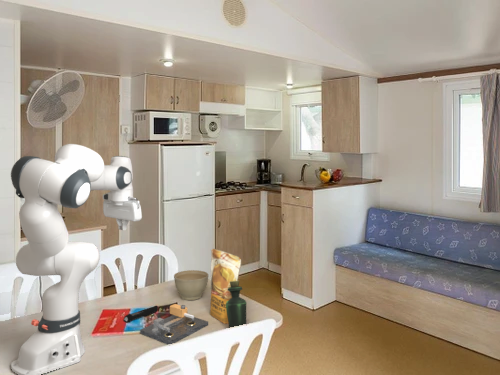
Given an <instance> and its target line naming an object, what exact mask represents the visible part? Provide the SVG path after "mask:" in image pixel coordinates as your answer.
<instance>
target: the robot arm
mask: <svg viewBox="0 0 500 375" xmlns="http://www.w3.org/2000/svg"><path fill="white" fill-rule="evenodd" d="M104 162H105V161H104V159H103V158H102V156H101V154H99V153H98V152H97V151H95V150H94V149H92V148H89V147H87V146H85V145H81V144H76V143H66V144H63V145H62V146H60V147H59V148H58V149H57V150H56V152H55V156H54V161H52V160H48V159H44V158H41V157H39V156H35V155H23V156H22V157H20V158H19V159H17V161H16V162H15V163H14V164H13V165H12V168H11V171H10V179H11V183H12V184H11V185H12V186H13V188H14V189H15V195H16V196H17V197H18V198H20V199H24V202H23V204H22V205H21V207H20V208H19V211H18V218H19V223H20V226H21V230H22V232H23V234H24V236H25V238H26V239H27V242H28V243H27V244H25V245H23V246H22V247H21V248H20V249H19V250H18V252H17V254H16V256H15V265H16V268H17V270H18V271H19V273H21V274H22V275H27V276H28V275H29V276H33V277H34V276H35V277H42V276H45V277H49V276H60V280H59V281H58V282H56V283H54V284H53V285H50V286H49V287H48V288H46V289H45V290H44V291H43V293H42V297H41V300H42V301H41V304H42V316H41V318H40V320H38V319H36V318H34V319H32V320H31V323H30V324H31V325H32V326H34V327H37V329H36V330H35V331H34V333H33V334H31V335H30V337H29V338H28V339H26V340H25V341H24V342H23V344H21V346H20V347H19V350H18V357H17V359H14V360H12V361H11V362H10V370H11V369H12V370H11V371H12V372H13V373H14V372H15V373H14V374H16V373H17V374H18V375H41V374H43V373H46V374H48V373H47V372H49V373H51V372H50V371H52V372H54V371H53V370H55V371H57V370H60V369H62V368H66V367H69V366H71V365H75V364H77V363H79V362H81V359H82V356H83V354H85V352H86V348H85V346H84V343H83V338H82V335H81V326H80V325H81V311H80V309H79V298H80V296H79V295H80V289H81V286H82V284H83V282H84V280H85V279H86V277H87V276H88V275H90V274H91V273H92V272H94V270H95V269H97V267H98V265H99V264H100V259H101V253H100V250H99V249H98V246H96V245H95V243H94V242H88V241H80V240H75V241H69V238H70V237H69V236H70V235H69V231H68V229H67V226H66V223H65V221H64V218H63V216H62V215H61V213H60V211H59V208H58V205H60V206H62V207H63V208H67V209H78V208H80V207H82V206H83V205H84V204H86V202H87V200H88V199H89V197H90V194H91V191H109V192H106V193H104V194H102V200H103V202H102V212H103V215H104V217H105V218H111V219H112V218H113V219H115V221H116V224H117V227H118V230H120V231H127V228H128V224H129V221H130V222H139V221H141V220H142V218H143V215H142V214H143V213H142V207H141V204H140V200H139V199H138V198H137V197H134V186H133V180H134V179H133V178H134V175H133V172H134V171H133V165H132V160H131V158H130V157H128V156H125V155H124V156H123V155H114V156H111V159H110V164H105V163H104ZM59 368H60V369H59ZM56 369H57V370H56ZM17 374H16V375H17ZM43 375H44V374H43Z"/></svg>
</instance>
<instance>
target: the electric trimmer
mask: <svg viewBox="0 0 500 375" xmlns="http://www.w3.org/2000/svg"><path fill="white" fill-rule="evenodd" d="M158 309H159V306H158V305H154V306H150V307H148V308H144V309H142V310H138V311H136V312H133V313H128V314H126V315H125V316H124V317H123V322H124V323H127V324H130V323H131V322H132V321H135V320H137V319H141V318H143V317H144V318H145V317H148V316H150V315H152V314H154V313H156V312H158V311H159V310H158Z"/></svg>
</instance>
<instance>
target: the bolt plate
mask: <svg viewBox="0 0 500 375" xmlns="http://www.w3.org/2000/svg"><path fill="white" fill-rule="evenodd" d="M187 314H190V313H188V312H187ZM190 315H192V314H190ZM152 322H153V323H152V324H150V325H148V326H145V327H143V328H141V329H139V334H140V335H142V336H145V337H147V338H150V339H153V340H154V341H155V340H156V341H157V342H160V343H162V344H165V345H168V344H172V343H174V344H175V343H177V342H179V341H181V340H183V339H185V338H187V337H189V336H190V335H193V334H194V333H197V332H198V331H200V330H202V329H204V328H206V327H208V326H209V321H208V320H205V319H202V318H198V317H195V316H194V322H192V318H189V317H186V316H185V317H183V318H181V317H178V316H175V315H172V314H171V315H170V316H167V317H165V318H161V317H158V318H155V319H154V320H153V321H152ZM172 345H173V344H172ZM168 346H169V345H168Z"/></svg>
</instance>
